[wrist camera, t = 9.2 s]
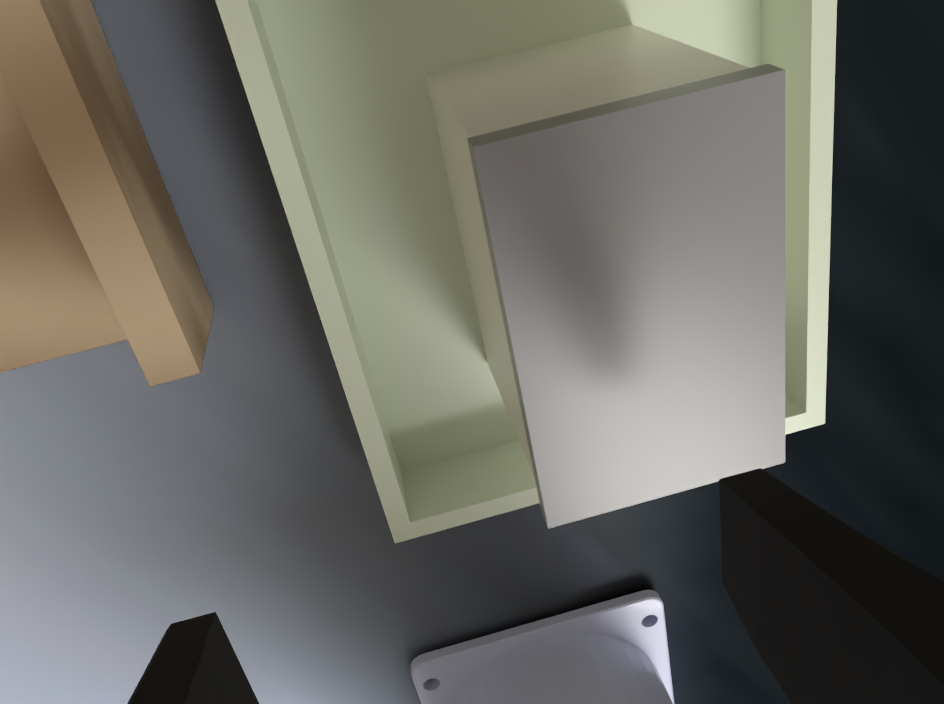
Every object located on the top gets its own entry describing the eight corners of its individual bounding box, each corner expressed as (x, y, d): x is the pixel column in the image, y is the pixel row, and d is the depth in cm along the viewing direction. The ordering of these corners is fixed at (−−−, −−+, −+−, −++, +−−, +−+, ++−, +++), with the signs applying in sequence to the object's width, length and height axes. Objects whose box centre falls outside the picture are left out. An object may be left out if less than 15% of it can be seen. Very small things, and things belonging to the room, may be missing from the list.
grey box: (664, 339, 21) (785, 485, 16) (488, 386, 20) (552, 550, 15) (636, 18, 17) (785, 69, 12) (419, 70, 17) (473, 146, 11)
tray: (774, 373, 23) (825, 423, 20) (385, 480, 22) (394, 543, 20) (769, -180, 16) (842, -193, 14) (214, -52, 15) (201, -45, 13)
